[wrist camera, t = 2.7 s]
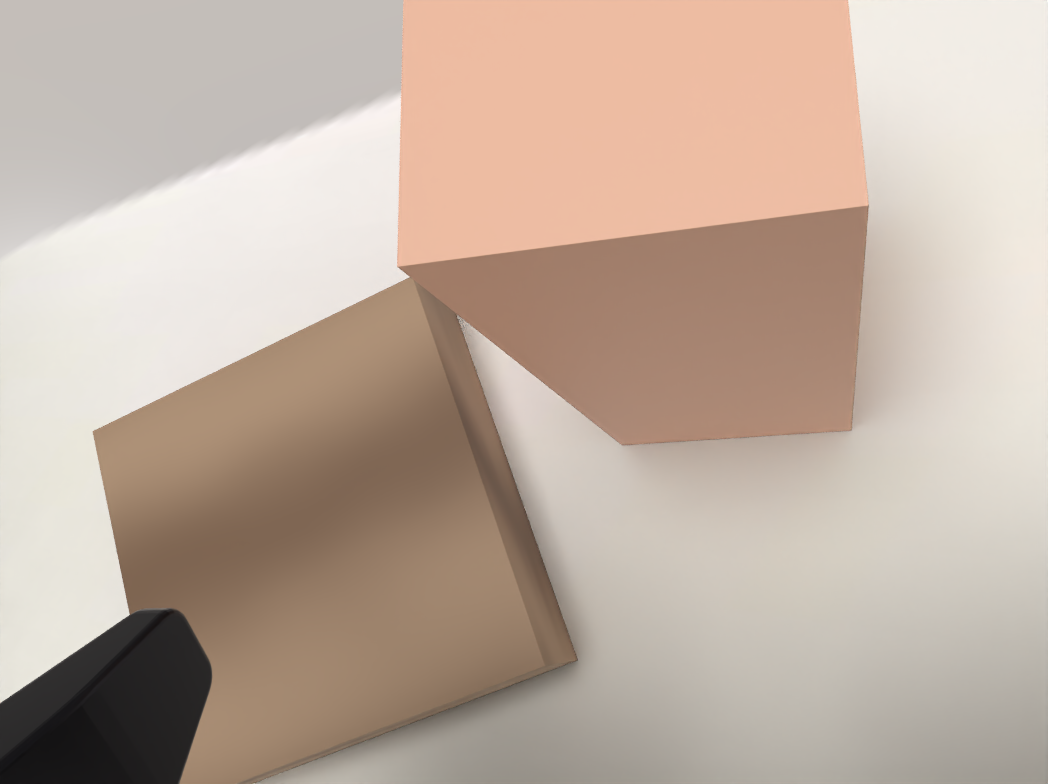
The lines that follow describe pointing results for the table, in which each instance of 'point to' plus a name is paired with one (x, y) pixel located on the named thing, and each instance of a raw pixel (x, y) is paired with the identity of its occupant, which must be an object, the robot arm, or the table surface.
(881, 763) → the table surface
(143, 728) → the robot arm
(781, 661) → the table surface
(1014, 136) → the table surface
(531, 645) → the walnut slab
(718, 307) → the terracotta block
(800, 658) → the table surface
